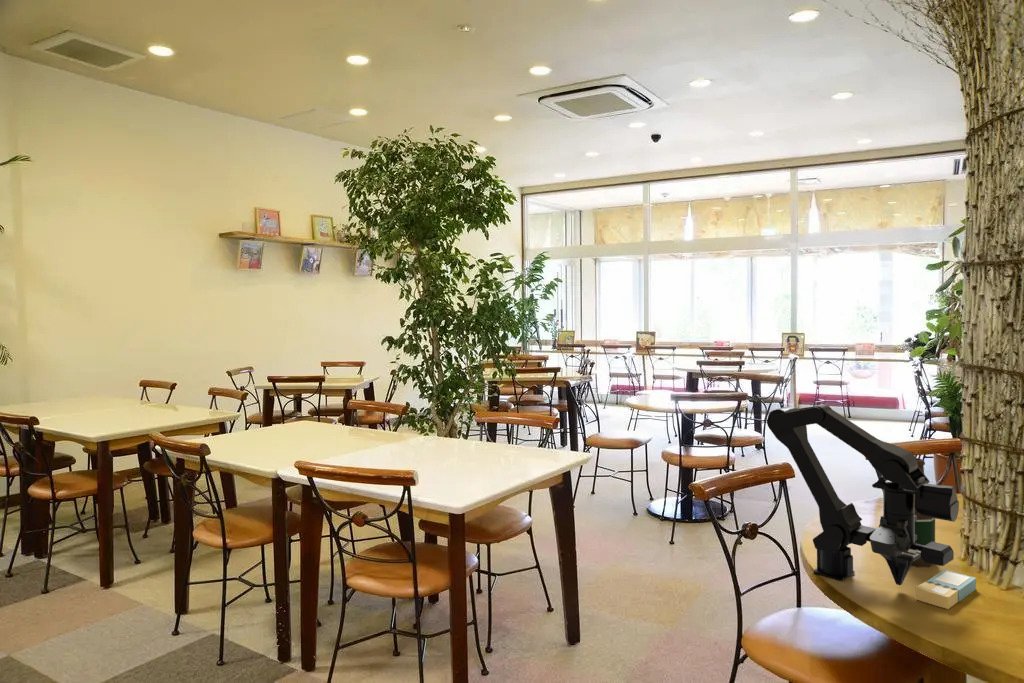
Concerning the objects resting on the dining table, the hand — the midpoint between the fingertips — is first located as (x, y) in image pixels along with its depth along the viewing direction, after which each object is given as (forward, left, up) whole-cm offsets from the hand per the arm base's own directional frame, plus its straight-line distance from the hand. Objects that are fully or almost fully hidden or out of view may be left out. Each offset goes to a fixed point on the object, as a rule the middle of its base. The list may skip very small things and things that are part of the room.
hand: (899, 584), depth 145 cm
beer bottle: (-4, +19, -2) cm, 19 cm away
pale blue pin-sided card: (+7, +7, -1) cm, 10 cm away
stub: (+7, 0, -1) cm, 7 cm away
